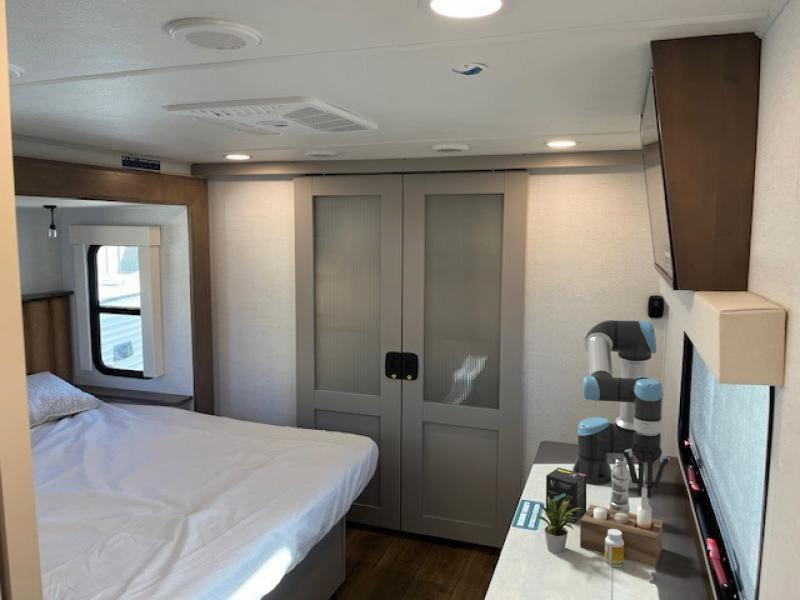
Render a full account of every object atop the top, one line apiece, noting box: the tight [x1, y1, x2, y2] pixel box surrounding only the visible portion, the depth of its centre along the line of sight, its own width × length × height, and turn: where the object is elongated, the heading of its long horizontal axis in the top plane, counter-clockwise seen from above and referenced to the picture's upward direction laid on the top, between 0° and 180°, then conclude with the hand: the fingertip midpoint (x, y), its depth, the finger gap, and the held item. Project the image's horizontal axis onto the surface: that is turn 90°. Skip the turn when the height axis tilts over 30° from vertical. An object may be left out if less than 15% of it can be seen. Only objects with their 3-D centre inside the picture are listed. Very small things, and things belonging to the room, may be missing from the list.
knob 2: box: [636, 504, 653, 531], centre depth 185 cm, size 4×4×10 cm
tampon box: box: [545, 467, 587, 525], centre depth 210 cm, size 11×9×15 cm
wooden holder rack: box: [579, 504, 664, 568], centre depth 189 cm, size 12×22×10 cm, turn 59°
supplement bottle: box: [604, 529, 625, 568], centre depth 181 cm, size 5×5×10 cm
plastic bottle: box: [609, 456, 631, 513], centre depth 209 cm, size 6×7×20 cm
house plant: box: [535, 497, 580, 555], centre depth 187 cm, size 14×14×16 cm
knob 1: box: [593, 506, 607, 521], centre depth 192 cm, size 4×4×10 cm
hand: (644, 506), depth 184 cm, fingers closed
